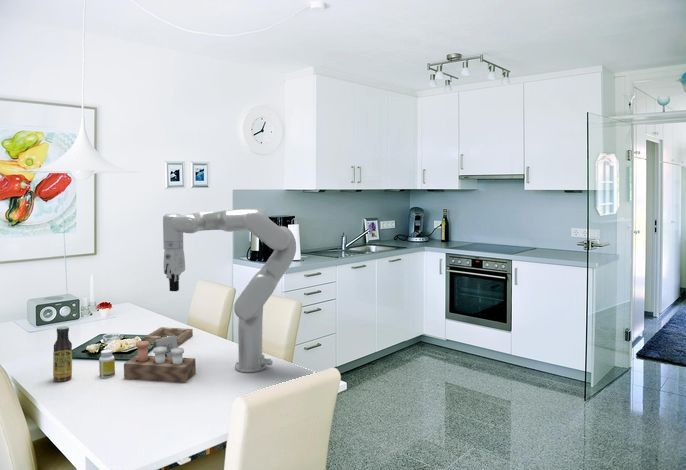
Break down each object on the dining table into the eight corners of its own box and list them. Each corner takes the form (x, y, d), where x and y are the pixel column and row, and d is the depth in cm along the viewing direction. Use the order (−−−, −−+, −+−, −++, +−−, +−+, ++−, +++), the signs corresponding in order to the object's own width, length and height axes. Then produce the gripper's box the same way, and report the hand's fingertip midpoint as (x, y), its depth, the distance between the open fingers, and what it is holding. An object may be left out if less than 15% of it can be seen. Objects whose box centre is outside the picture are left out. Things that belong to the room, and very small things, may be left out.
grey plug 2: (186, 373, 202) (186, 348, 201) (181, 378, 197) (180, 352, 196) (174, 372, 203) (174, 347, 202) (169, 377, 198) (168, 351, 197)
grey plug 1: (169, 372, 203) (168, 346, 202) (163, 377, 198) (162, 350, 197) (157, 371, 204) (156, 346, 203) (151, 376, 199) (150, 350, 198)
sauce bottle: (53, 383, 192) (50, 330, 190) (53, 377, 198) (51, 326, 196) (73, 380, 195) (71, 328, 193) (73, 375, 201) (71, 324, 199)
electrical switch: (160, 362, 215) (158, 340, 215) (153, 361, 219) (151, 339, 218) (179, 357, 223) (178, 335, 222) (172, 355, 226) (171, 334, 226)
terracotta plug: (152, 366, 204) (151, 341, 203) (145, 371, 199) (145, 345, 198) (140, 365, 204) (139, 340, 203) (134, 370, 200) (133, 344, 198)
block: (195, 373, 204) (195, 358, 204) (184, 383, 195) (184, 367, 194) (137, 369, 207) (137, 354, 207) (124, 379, 198) (123, 363, 197)
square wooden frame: (192, 336, 252) (192, 328, 252) (178, 346, 237) (178, 338, 236) (161, 334, 254) (161, 327, 254) (144, 344, 239) (144, 336, 238)
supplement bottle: (118, 374, 202) (117, 349, 201) (107, 379, 197) (106, 354, 196) (107, 372, 204) (106, 348, 203) (96, 377, 199) (95, 352, 198)
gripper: (174, 247, 199) (174, 295, 201) (190, 243, 213) (191, 287, 215) (155, 247, 200) (156, 294, 202) (172, 242, 214) (173, 286, 216)
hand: (174, 290), depth 208 cm, fingers closed
